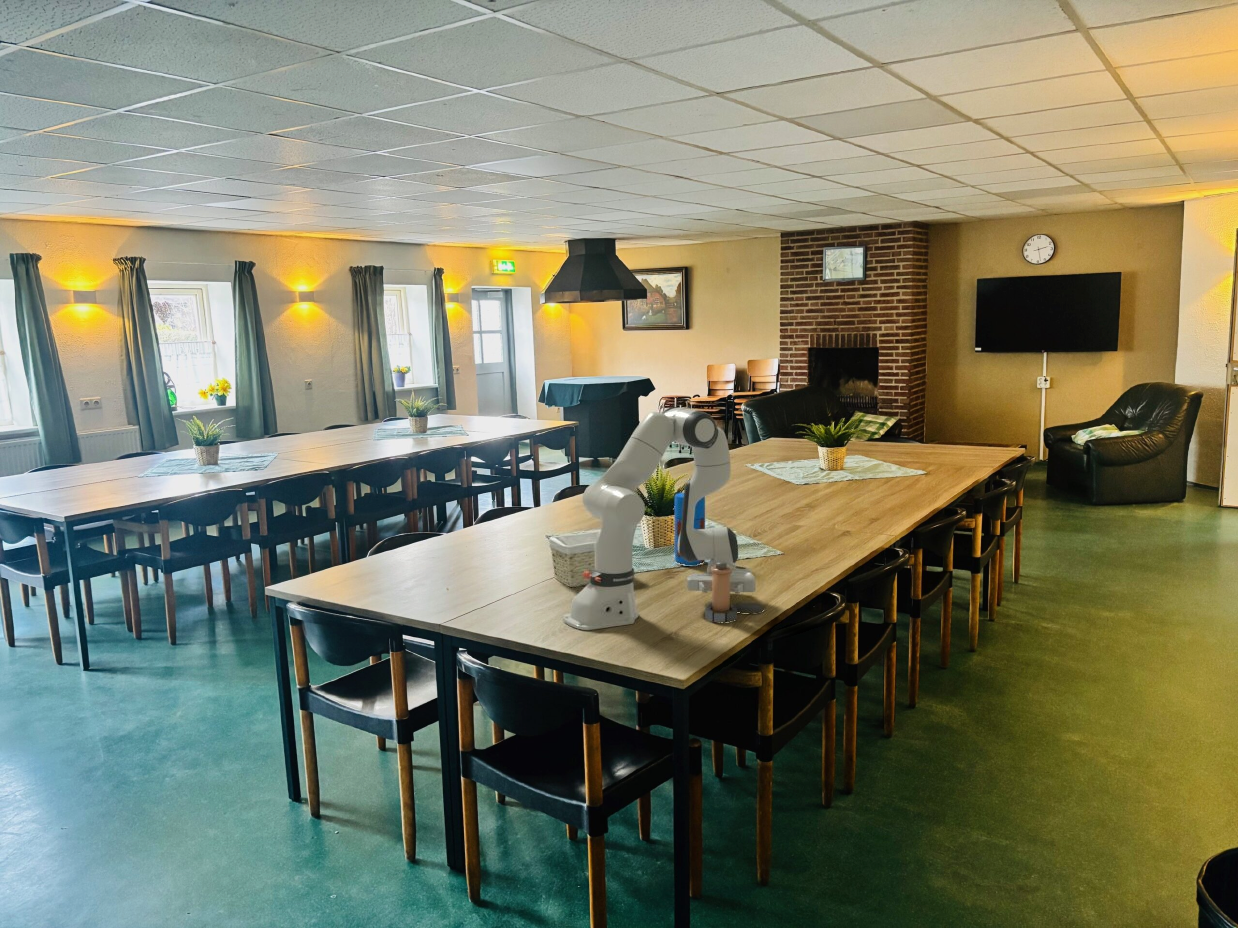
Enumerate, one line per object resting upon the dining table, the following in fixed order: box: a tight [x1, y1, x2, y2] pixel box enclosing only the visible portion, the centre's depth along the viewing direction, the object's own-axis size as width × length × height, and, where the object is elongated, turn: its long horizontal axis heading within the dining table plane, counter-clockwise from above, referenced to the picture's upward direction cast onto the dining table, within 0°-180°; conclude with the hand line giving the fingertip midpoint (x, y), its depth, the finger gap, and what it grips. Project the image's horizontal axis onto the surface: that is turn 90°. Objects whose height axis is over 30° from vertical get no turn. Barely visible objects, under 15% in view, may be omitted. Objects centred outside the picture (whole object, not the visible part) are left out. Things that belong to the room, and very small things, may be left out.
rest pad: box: [731, 602, 766, 614], centre depth 264 cm, size 10×10×1 cm
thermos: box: [674, 492, 706, 565], centre depth 316 cm, size 11×11×25 cm
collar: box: [704, 604, 738, 624], centre depth 255 cm, size 9×9×3 cm
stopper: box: [711, 562, 732, 612], centre depth 254 cm, size 6×6×17 cm
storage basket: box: [548, 529, 601, 588], centre depth 299 cm, size 24×16×15 cm
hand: (720, 590), depth 254 cm, fingers open, 8 cm apart
